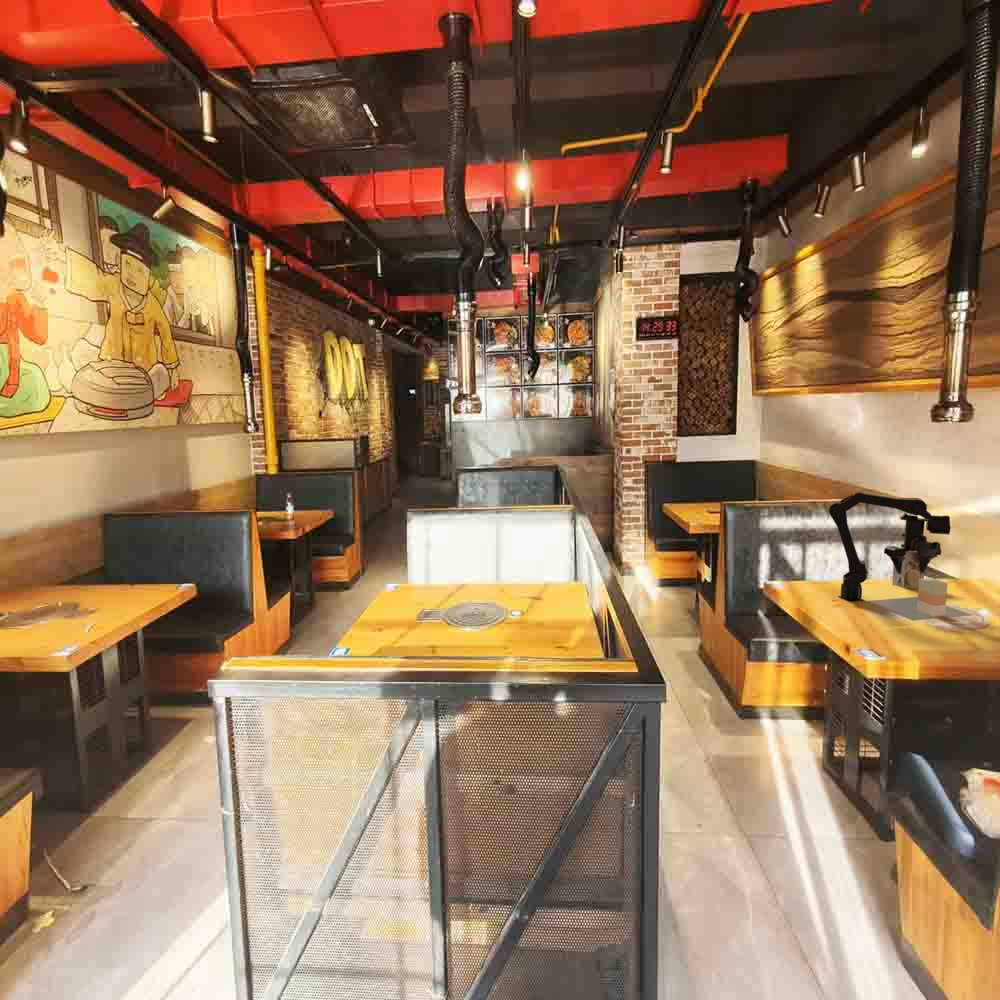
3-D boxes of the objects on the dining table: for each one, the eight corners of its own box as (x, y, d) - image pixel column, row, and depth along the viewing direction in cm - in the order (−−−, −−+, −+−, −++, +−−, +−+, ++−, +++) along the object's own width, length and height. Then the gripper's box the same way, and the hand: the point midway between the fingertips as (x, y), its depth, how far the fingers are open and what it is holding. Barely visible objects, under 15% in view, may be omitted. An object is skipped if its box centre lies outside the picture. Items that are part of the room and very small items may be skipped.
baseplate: (912, 621, 204) (913, 609, 203) (865, 602, 225) (865, 591, 224) (973, 616, 207) (974, 604, 206) (920, 597, 228) (921, 586, 228)
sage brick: (946, 594, 206) (947, 583, 205) (934, 594, 205) (935, 584, 204) (929, 588, 212) (930, 577, 212) (918, 589, 212) (919, 578, 211)
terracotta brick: (945, 604, 206) (946, 594, 206) (934, 605, 206) (935, 595, 205) (928, 598, 213) (929, 588, 213) (917, 599, 212) (918, 589, 212)
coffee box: (911, 583, 247) (913, 546, 244) (923, 587, 240) (926, 549, 238) (891, 584, 245) (893, 547, 243) (903, 589, 239) (906, 551, 237)
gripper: (908, 537, 206) (904, 580, 209) (956, 535, 208) (952, 577, 211) (884, 531, 217) (881, 572, 220) (930, 529, 219) (926, 569, 222)
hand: (910, 573), depth 218 cm, fingers open, 9 cm apart
